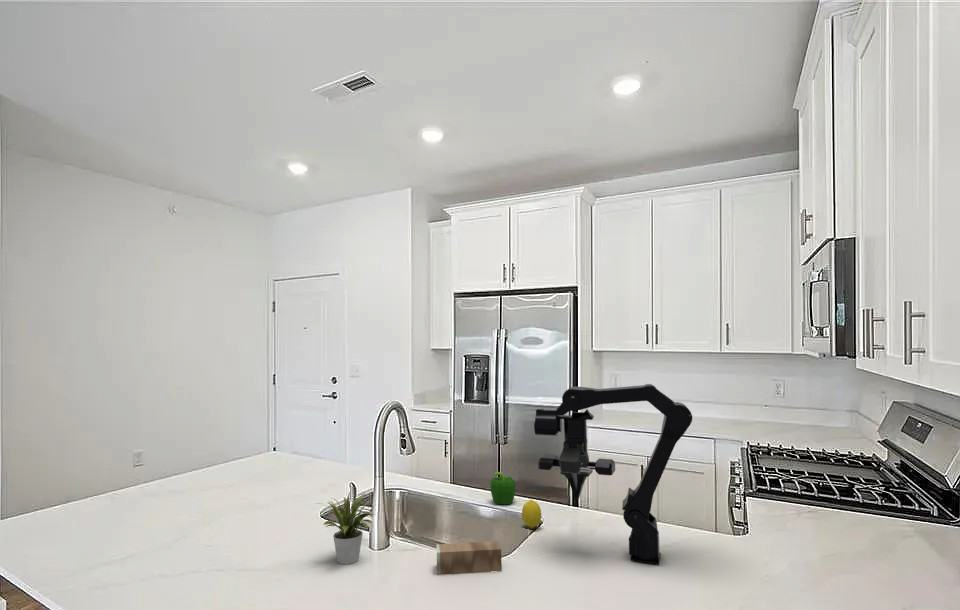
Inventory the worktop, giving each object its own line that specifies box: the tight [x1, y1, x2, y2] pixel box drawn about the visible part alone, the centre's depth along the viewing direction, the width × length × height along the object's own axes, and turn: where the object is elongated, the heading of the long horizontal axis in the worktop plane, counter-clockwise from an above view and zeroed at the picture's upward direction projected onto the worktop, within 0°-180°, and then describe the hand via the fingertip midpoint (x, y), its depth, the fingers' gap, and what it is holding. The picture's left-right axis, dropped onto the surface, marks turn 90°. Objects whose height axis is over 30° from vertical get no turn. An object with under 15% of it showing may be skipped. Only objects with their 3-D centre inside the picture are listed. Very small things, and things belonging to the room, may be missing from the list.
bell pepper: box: [490, 471, 517, 506], centre depth 170 cm, size 8×8×10 cm
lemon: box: [521, 499, 542, 530], centre depth 147 cm, size 6×6×8 cm
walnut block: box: [436, 540, 503, 576], centre depth 122 cm, size 5×5×15 cm
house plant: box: [313, 491, 375, 565], centre depth 127 cm, size 14×14×16 cm
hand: (577, 498), depth 131 cm, fingers closed
